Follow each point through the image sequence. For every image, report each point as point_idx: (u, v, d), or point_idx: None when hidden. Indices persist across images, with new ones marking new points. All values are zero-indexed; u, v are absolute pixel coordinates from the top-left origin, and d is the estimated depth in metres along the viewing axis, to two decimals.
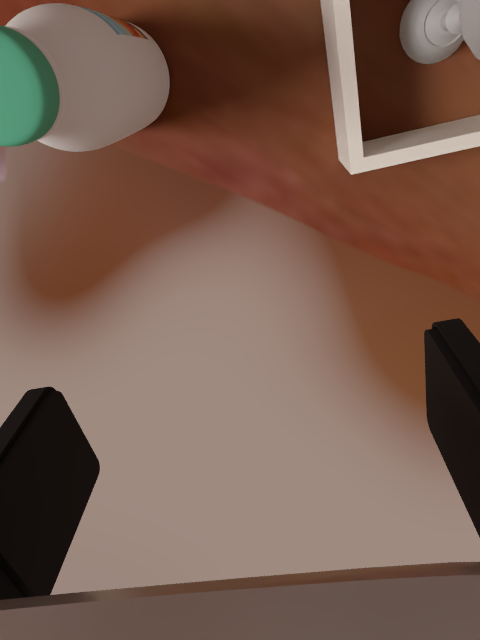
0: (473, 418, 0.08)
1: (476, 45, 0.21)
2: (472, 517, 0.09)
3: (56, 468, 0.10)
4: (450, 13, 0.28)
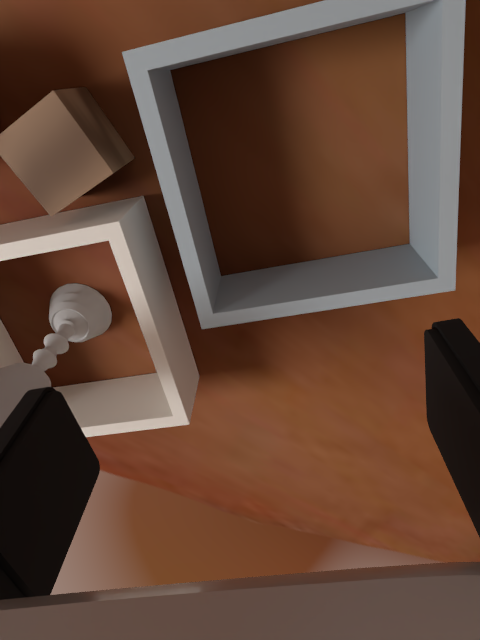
0: (473, 418, 0.08)
1: None
2: (472, 517, 0.09)
3: (56, 468, 0.10)
4: (44, 341, 0.31)
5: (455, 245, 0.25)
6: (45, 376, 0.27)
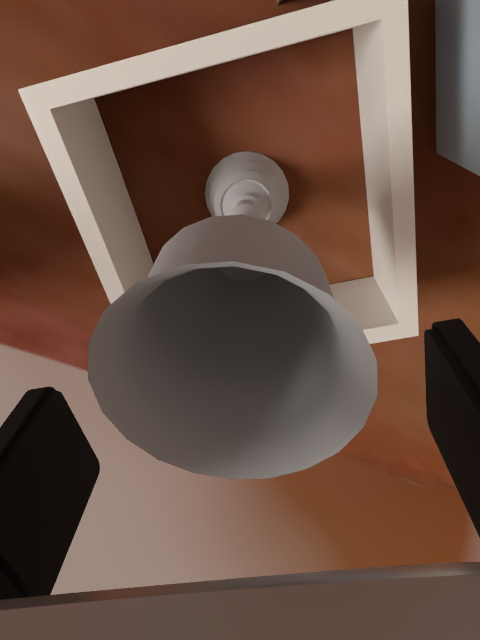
0: (473, 418, 0.08)
1: None
2: (472, 517, 0.09)
3: (56, 468, 0.10)
4: None
5: None
6: None
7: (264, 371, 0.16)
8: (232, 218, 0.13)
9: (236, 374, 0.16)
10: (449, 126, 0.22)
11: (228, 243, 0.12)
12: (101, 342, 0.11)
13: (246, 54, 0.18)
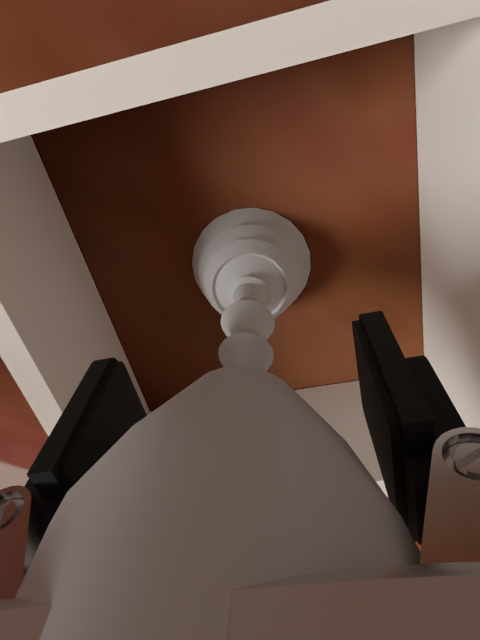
0: (376, 397, 0.09)
1: None
2: (386, 488, 0.10)
3: (123, 433, 0.11)
4: (225, 318, 0.14)
5: None
6: None
7: None
8: (215, 466, 0.06)
9: None
10: None
11: None
12: None
13: (251, 74, 0.10)
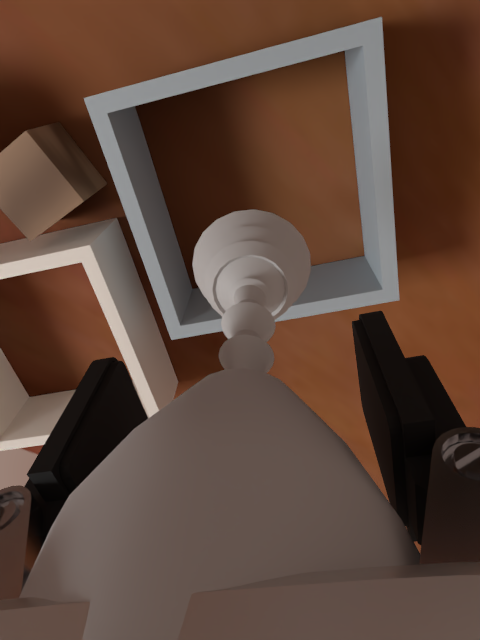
0: (376, 397, 0.09)
1: None
2: (386, 488, 0.10)
3: (123, 433, 0.11)
4: (226, 320, 0.14)
5: (395, 260, 0.28)
6: None
7: None
8: (216, 470, 0.06)
9: None
10: None
11: None
12: None
13: (9, 276, 0.30)
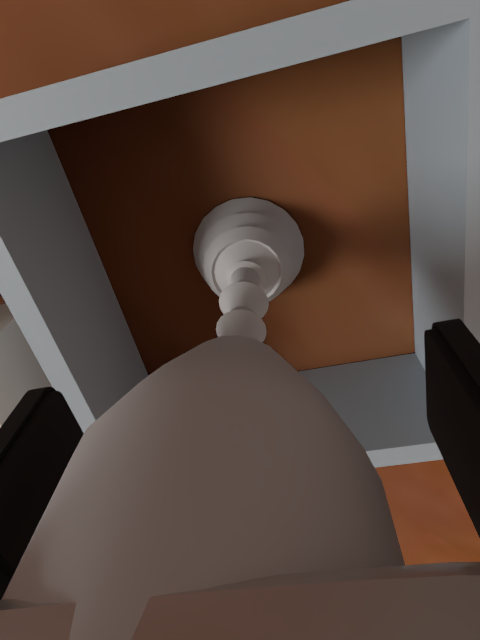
0: (473, 418, 0.08)
1: None
2: (472, 517, 0.09)
3: (56, 468, 0.10)
4: (223, 298, 0.16)
5: None
6: None
7: None
8: (208, 401, 0.07)
9: None
10: None
11: (187, 521, 0.05)
12: None
13: None
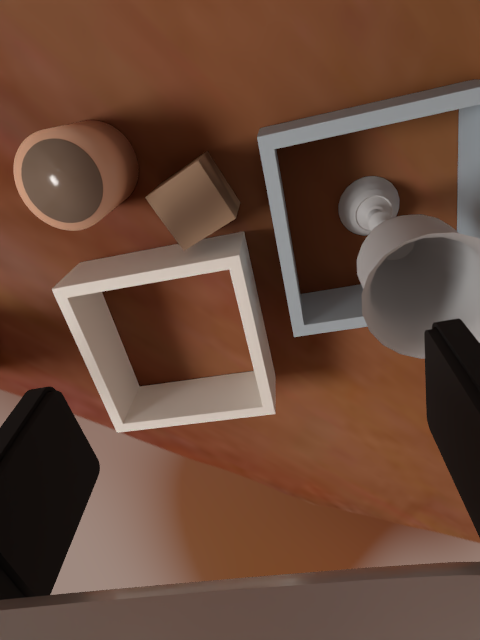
0: (473, 418, 0.08)
1: None
2: (472, 517, 0.09)
3: (56, 468, 0.10)
4: (371, 220, 0.33)
5: None
6: None
7: (419, 310, 0.26)
8: (418, 216, 0.24)
9: (402, 311, 0.26)
10: None
11: (430, 227, 0.22)
12: (370, 275, 0.22)
13: (165, 280, 0.35)
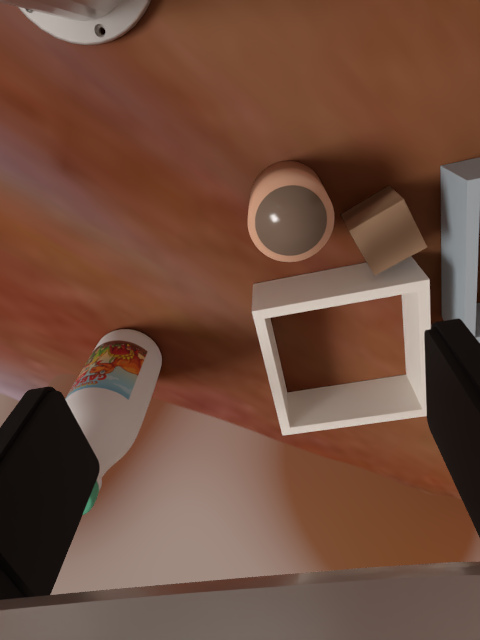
0: (473, 418, 0.08)
1: None
2: (472, 517, 0.09)
3: (56, 468, 0.10)
4: None
5: None
6: None
7: None
8: None
9: None
10: (448, 312, 0.45)
11: None
12: None
13: (357, 301, 0.40)
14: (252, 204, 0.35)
